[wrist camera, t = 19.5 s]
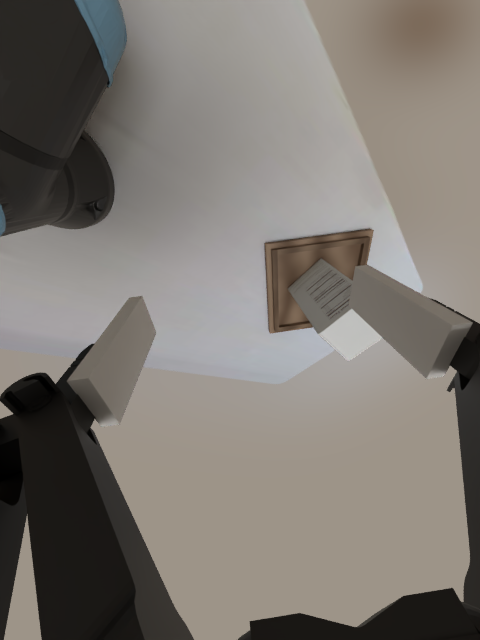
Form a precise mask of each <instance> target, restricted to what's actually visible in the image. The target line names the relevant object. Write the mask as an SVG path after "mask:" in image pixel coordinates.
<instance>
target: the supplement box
mask: <svg viewBox="0 0 480 640" xmlns="http://www.w3.org/2000/svg"><path fill="white" fill-rule="evenodd" d="M352 283H353V281H352V280H351V279H349V278H348V277H346V276H345V275H344V274H342V273H341V272H339V271H338V270H337V269H335V268H334V267H333V266H331V265H330V264H329V263H327V262H326V261H324V260H323V259H322V258H321V259H320V260H319V261H318V262H316V263H315V264H314V265H313V266H312V267H311V268H310V269H309V270H308V271H306V272H305V273H304V274H303V275H302V276H301V277H300V278H299V279H298V280H296V281H295V282H294V283H293V284H292V285H291V286H290V287H289V288H288V290H289V292H290V293H291V295H292V296H293V298H294V299H295V301H296V302H297V304H298V305H299V307H300V308H301V310H302V311H303V313H304V314H305V315H306V317H307V318H308V320H309V321H310V323H311V324H312V326H313V327H314V329H315V330H316V332H317V333H318V335H320V336H321V337H322V338H323V339H324V340H325V341H326V342H327V343H328V344H329V345H330V346H332V347H333V348H334V349H335V350H336V351H337V352H338V353H339V354H340V355H341V356H342V357H344V358H345V359H346V360H347V361H350V360H351V359H353V358H354V357H356V356H357V355H359V354H360V353H362V352H363V351H365V350H366V349H367V348H369V347H370V346H372V345H373V344H375V343H376V342H378V341H379V340H381V339H382V337H381V336H380V335H379V334H378V333H377V332H376V331H375V330H374V329H373V328H372V327H371V326H370V325H369V324H367V323H366V322H365V321H364V320H363V319H362V318H361V317H360V316H359V315H358V314H357V313H356V312H355V311H354V310H353V309H351V308H350V307H349V300H350V294H351V288H352Z"/></svg>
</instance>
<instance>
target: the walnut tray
mask: <svg viewBox="0 0 480 640" xmlns="http://www.w3.org/2000/svg"><path fill="white" fill-rule="evenodd" d="M373 231H374V230H372V229H365V230H358V231H351V232H343V233H336V234H328V235H321V236H314V237H306V238H299V239H292V240H284V241H277V242H269V243H265V260H266V280H267V301H268V321H269V332H270V333H276V332H283V331H290V330H297V329H304V328H311V327H313V326H312V324H311V323H310V321H309V320H308V318H307V317H306V315H305V314H304V313H303V311H302V310H301V308H300V307H299V305H298V304H297V302H296V301H295V299H294V298H293V296H292V295H291V293H290V292H289V290H288V288H289V287H290V286H291V285H292V284H293V283H294V282H295V281H296V280H298V279H299V278H300V277H301V276H302V275H303V274H304V273H305V272H306V271H308V270H309V269H310V268H311V267H312V266H313V265H314V264H315V263H316V262H318V261H319V260H320V259H321V258H322V259H323V260H324V261H326V262H327V263H329V264H330V265H331V266H333V267H334V268H335V269H337V270H338V271H339V272H341V273H342V274H344V275H345V276H346V277H348V278H349V279H351V280H352V281H353V277H354V271H355V266H363V265H367V261H368V256H369V251H370V246H371V241H372V236H373Z"/></svg>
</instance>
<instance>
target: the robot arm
mask: <svg viewBox="0 0 480 640" xmlns="http://www.w3.org/2000/svg"><path fill="white" fill-rule="evenodd" d="M126 41H127V35H126V26H125V21H124V17H123V12H122V9H121V6H120V4H119V1H118V0H0V237H1V236H5V235H9V234H12V233H16V232H20V231H24V230H28V229H32V228H36V227H40V226H43V225H47V224H48V225H52V226H56V227H60V228H66V229H81V228H86V227H89V226H92V225H95V224H97V223H98V222H100V221H101V220H103V219H104V218H105V217H106V216H107V214H108V213H109V211H110V209H111V207H112V204H113V200H114V182H113V177H112V173H111V170H110V167H109V165H108V163H107V160H106V158H105V157H104V155H103V153H102V152H101V150H100V149H99V147H98V146H97V144H96V143H95V142H94V141H93V140H92V139H91V137H90V136H89V135H88V134H87V133H86V132H84V131H83V130H84V128H85V126H86V125H87V123H88V121H89V119H90V117H91V115H92V113H93V111H94V109H95V107H96V106H97V104H98V102H99V100H100V98H101V96H102V94H103V92H104V90H105V89H106V87H110V86H111V85H112V82H113V73H114V71H115V69H116V67H117V65H118V62H119V60H120V58H121V56H122V54H123V52H124V49H125V46H126ZM349 307H350V308H351V309H353V310H354V311H355V312H356V313H357V314H358V315H359V316H360V317H361V318H362V319H363V320H364V321H365V322H366V323H367V324H369V325H370V326H371V327H372V328H373V329H374V330H375V331H376V332H377V333H378V334H379V335H380V336H381V337H382V338H383V339H385V340H386V341H387V342H388V343H389V344H390V345H391V346H392V347H393V348H394V349H395V350H396V351H397V352H398V353H400V354H401V355H402V356H403V357H404V358H405V359H406V360H407V361H408V362H409V363H410V364H411V365H412V366H413V367H414V368H416V369H417V370H418V371H419V372H420V373H421V374H422V375H423V376H424V377H425V378H426V379H428V378H435V377H442V376H444V375H445V373H446V372H447V370H448V368H449V366H452V367H453V368H454V369H455V370H457V373H456V374H455V376H454V378H453V380H452V381H451V383H450V385H449V387H448V389H447V391H449V392H450V391H451V390H452V388H455V394H456V406H457V416H458V427H459V438H460V449H461V459H462V470H463V482H464V491H465V503H466V514H467V525H468V535H469V547H470V565H469V569H468V571H467V575H466V577H465V582H464V602H461V601H460V600H459V598H458V596H457V595H456V593H455V591H454V589H453V588H450V589H444V590H437V591H431V592H425V593H419V594H413V595H407V596H403V597H401V598H400V599H398V600H396V601H395V602H393V603H392V604H390V605H388V606H387V607H385V608H383V609H382V610H380V611H379V612H377V613H376V614H374V615H373V616H371V617H370V618H369V619H367V620H366V621H365V622H363V623H362V624H360V625H359V626H358V627H352V626H348V625H344V624H340V623H336V622H332V621H328V620H325V619H321V618H316V617H313V616H309V615H305V614H301V613H298V614H292V615H286V616H280V617H274V618H268V619H261V620H255V621H250V631H248V632H247V633H246V634H244V635H242V636H241V637H240V638H239V639H238V640H480V324H479V323H477V322H475V321H474V320H472V319H470V318H468V317H466V316H464V315H462V314H461V313H459V312H457V311H454V310H453V309H451V308H449V307H446V305H444V304H442V303H440V302H438V301H436V300H433V299H430V298H427V297H425V296H423V295H421V294H420V293H418V292H416V291H414V290H413V289H411V288H409V287H407V286H405V285H403V284H402V283H400V282H398V281H396V280H394V279H392V278H391V277H389V276H387V275H385V274H383V273H382V272H380V271H378V270H376V269H374V268H372V267H371V266H369V265H363V266H355V271H354V277H353V283H352V288H351V294H350V300H349ZM155 335H156V331H155V328H154V325H153V323H152V320H151V318H150V315H149V312H148V310H147V307H146V305H145V302H144V299H143V297H142V296H138V297H131V298H129V299H128V300H127V302H126V303H125V304H124V306H123V307H122V308H121V310H120V311H119V312H118V314H117V315H116V316H115V318H114V319H113V320H112V322H111V323H110V324H109V326H108V327H107V328H106V330H105V331H104V332H103V334H102V335H101V336H100V338H99V339H98V340H97V342H96V343H95V344H91V345H90V346H88V347H87V348H86V349H84V350H83V351H82V352H81V353H80V354H79V356H78V357H77V358H76V361H74V362H73V363H72V364H71V367H69V368H68V369H67V371H66V372H65V373H64V374H63V376H62V377H61V378H60V379H59V381H58V382H57V383H56V384H55V383H54V382H53V381H52V379H51V378H50V377H49V376H48V375H47V374H46V373H36V374H32V375H29V376H26V377H24V378H22V379H20V380H18V381H17V382H15V383H13V384H12V385H11V386H10V387H8V388H7V389H6V390H5V391H4V392H3V393H2V394H1V396H0V401H1V402H2V403H3V404H4V405H5V406H6V407H7V408H8V409H9V410H10V411H11V412H13V413H14V414H13V415H10V416H7V417H4V418H2V419H0V640H4V635H5V629H6V624H7V618H8V613H9V608H10V602H11V597H12V592H13V586H14V581H15V575H16V570H17V565H18V559H19V554H20V548H21V543H22V538H23V533H24V527H25V522H26V516H27V514H28V524H29V533H30V542H31V550H32V558H33V568H34V576H35V585H36V594H37V602H38V611H39V620H40V629H41V637H42V640H194V639H193V637H192V635H191V633H190V631H189V630H188V628H187V626H186V624H185V623H184V621H183V620H182V618H181V617H180V615H179V614H178V612H177V610H176V609H175V607H174V605H173V603H172V600H171V599H170V596H169V594H168V592H167V590H166V588H165V585H164V583H163V581H162V579H161V577H160V574H159V572H158V570H157V568H156V566H155V564H154V561H153V560H152V557H151V555H150V553H149V551H148V548H147V546H146V544H145V542H144V540H143V538H142V535H141V533H140V531H139V529H138V527H137V524H136V522H135V520H134V518H133V516H132V514H131V511H130V509H129V507H128V505H127V503H126V501H125V499H124V496H123V494H122V492H121V490H120V487H119V485H118V483H117V481H116V479H115V477H114V474H113V472H112V470H111V468H110V466H109V464H108V461H107V459H106V457H105V455H104V453H103V450H102V448H101V447H100V444H99V442H98V440H97V437H96V435H95V433H94V431H93V430H92V429H91V428H90V427H91V425H92V423H93V421H94V419H96V421H97V422H98V423H99V425H100V426H101V427H105V426H111V425H118V424H120V422H121V420H122V417H123V415H124V412H125V410H126V407H127V405H128V402H129V400H130V397H131V395H132V392H133V390H134V387H135V385H136V382H137V380H138V377H139V375H140V372H141V370H142V367H143V365H144V362H145V360H146V357H147V355H148V352H149V350H150V347H151V345H152V342H153V340H154V337H155Z"/></svg>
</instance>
